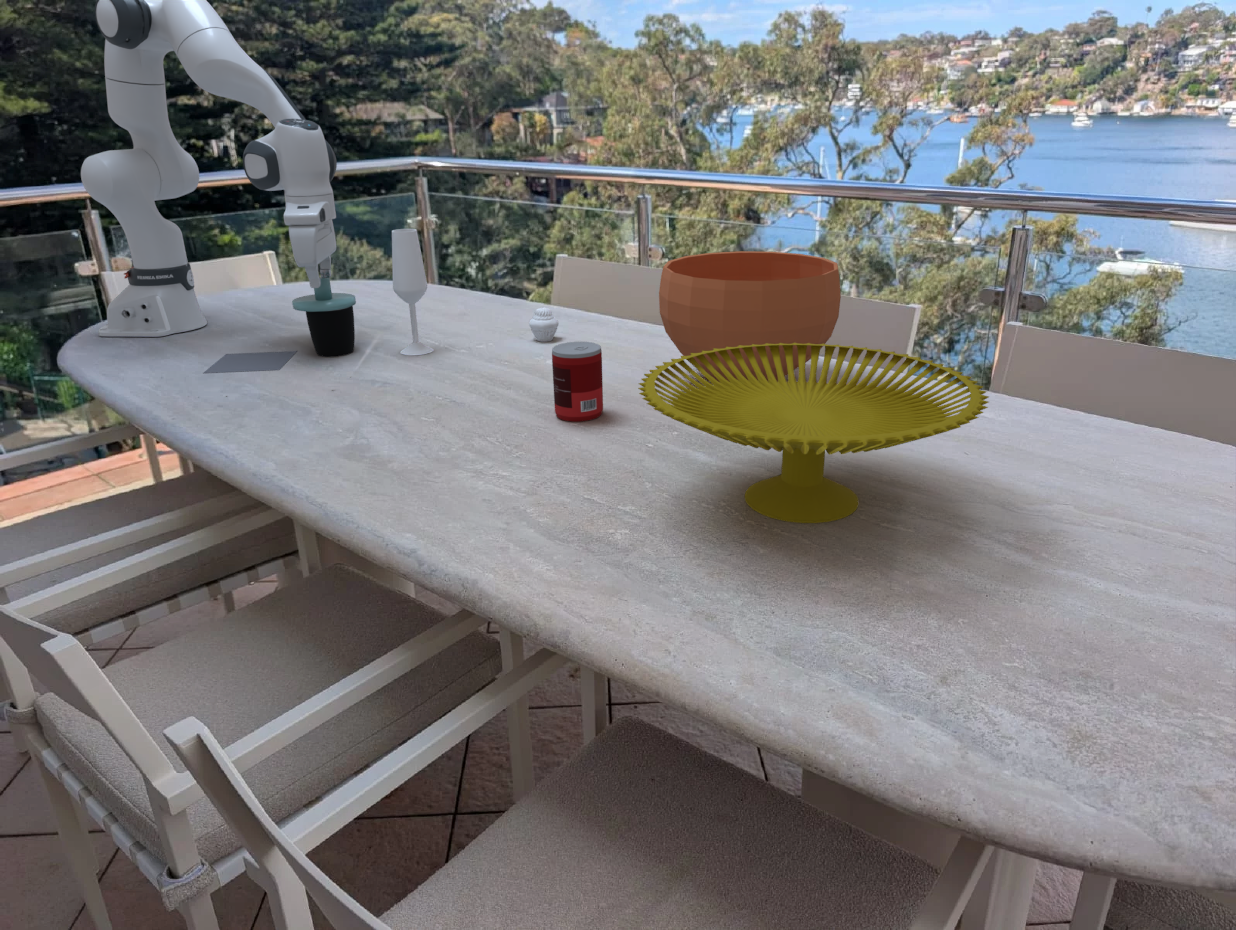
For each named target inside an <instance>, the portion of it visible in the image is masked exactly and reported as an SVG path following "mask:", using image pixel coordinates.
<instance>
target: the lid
mask: <svg viewBox="0 0 1236 930" xmlns="http://www.w3.org/2000/svg"><path fill="white" fill-rule="evenodd" d="M319 277H320V280H321V286H320V287H319V288H313V292H314V294H309V295H307V294H306V295H304V296H303V295H302V296H299V297H296V298H294V299H292V301H291V304H292V309H294V310H295V311H299V312H306V311H308V312H317V311H331V310H338V309H343V308H347V307H351V306H355V305H356V304H357V301H356V296H355V295H354V294H350V293H344V292H332V287H331V286H332V285H331V279H330V278H331V277H330V278H328V277H321V276H319Z"/></svg>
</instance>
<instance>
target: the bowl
mask: <svg viewBox="0 0 1236 930" xmlns="http://www.w3.org/2000/svg"><path fill="white" fill-rule="evenodd" d="M658 289H659V291H658V301H659V304H658V305H659V315H660V317H661V320H662V325H663V329H664V331H665V333H666V334H667V336H668V337H669V339H670V340H671V342H672V344H674V346H675V347H676V348H677V350H678V351H679V353H680V354H681V356H689V355H691V353H701V352H702V351H712V350H713V348H716V349H722V348H726V347H738V346H739V345H741V346H750V345H752V344H755V345H763V344H766V343H768V344H779V343H783V344H792V343H799V344H807V343H810V344H823V343H824V344H827V342H828V341H829V340H830V338H832V335H833V332H834V329H835V327H836V325H837V321H838V319H839V315H840V308H841V298H842V297H841V296H842V295H841V283H840V272H839V267H838V263H837V262H835V261H833V260H830V259H827V258H826V257H820V256H815V255H809V254H804V253H792V252H780V251H757V250H756V251H754V250H753V251H752V250H751V251H748V250H747V251H746V250H745V251H744V250H743V251H740V250H738V251H722V252H721V251H719V252H708V253H699V254H690V255H684V256H681V257H677V258H675V259H671V260H668V261H667V262H666V263H665V264H664V265H663V268H662V272H661V274H660V283H659V288H658ZM823 347H824V346H821V349H822V348H823ZM765 348H766V353H767V357H768V361H769V364H770V367H771V370H772V372H773V374H774V376H775V378H776V380H777V382H778V376H777V371H776V367H775V363H774V359H773V356H772V353H771V350H770V348H769V346H765ZM739 350H740V353H741V355H742V357H743V359H744V361H745V363H746V365H747V367H748V368H749V370H750V372H751V373H752V375H753V376H754V377H755V378H756V379H757V380H758V378H757V376H756V373H755V371H754V369H753V367H752V365H751V363H750V361H749V359H748V357H747V355H746V353H745V352H744V350H743V349H742V348H739ZM752 350H753V353H754V356H755V359H756V361H757V364H758V366H759V368H760V370H761V372H762V374H763V375H764V377H765V378H766V380H767V381H768V377H767V374H766V371H765V368H764V365H763V362H762V360H761V358H760V355H759V353H758V351H757V349H756V347H755V346H754V347H752ZM727 352H728V354H729V356H730V358H731V360H732V361H733V363H734V365H735V366H736V367H737V369H738V370H739V372H740V373H741V374H742V376H744V377H745V378H746V379H747V380H748V378H747V376H746V374H745V372H744V371H743V369H742V367H741V366H740V364H739V362H738V361H737V359H736V358H735V356H734V355H733V353H732V352H731V351H730V350H729V349H727ZM779 353H780V360H781V365H782V369H783V373H784V376H785V377H786V376H788V370H787V362H786V357H785V352H784V348H783V346H782V345H779ZM715 354H716V355H717V357H718V358H719V360H720V361H721V363H722V364H723V366H724V367H725V368H726V369H727V370H728V371H729V373H730V374H731V375H732V376H733V377H734V378H735V379H737V377H736V375H735V374H734V373H733V371H732V370H731V368H730V367H729V365H728V364H727V363H726V361H725V360H724V359H723V357H722V356H721V355H720V354H719V353H718V352H717V351H716V352H715ZM704 356H705V358H706V359H707V360H708V361H709V363H710V364H711V365H712V366H713V368H714V369H715V370H716V371H717V372H718V373H719V374H720V375H721V376H723V377H724V378H725V379H726V380H727V381H729V380H728V378H727V377H726V376H725V375H724V373H723V372H722V371H721V370H720V368H719V367H718V366H717V365H716V364H715V363H714V361H713V360H712V359H711V358H710V357H709V356H708V355H707V354H706V353H705V354H704ZM693 358H694V359H695V360H696V362H697V363H698V364H699V365H700V366H701V367H702V368H703V369H704V370H705V371H706V372H707V373H708V374H709V375H711V376H712V377H713V378H714V379H715V380H717V381H718V382H720V381H719V380H718V379H717V378H716V377H715V376H714V375H713V373H712V372H711V371H710V370H709V369H708V368H707V367H706V366H705V365H704V364H703V363H702V362H701V361H700V360H699V359H698V358H697V357H696V356H694V357H693ZM809 361H811V345H807V349H806V359H805V364H806V363H808V362H809ZM793 366H794V371H795V370H797V369H799V360H798V350H797V346H796V345H793ZM737 380H738V379H737ZM738 381H739V380H738ZM748 381H749V380H748ZM729 382H730V381H729ZM758 382H759V381H758ZM720 383H721V382H720ZM730 383H731V382H730Z"/></svg>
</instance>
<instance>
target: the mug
mask: <svg viewBox="0 0 1236 930" xmlns="http://www.w3.org/2000/svg"><path fill="white" fill-rule="evenodd" d="M353 306H354V305H353ZM353 306H351V307H347V308H343V309H338V310H331V311H317V312H308V311H305V315H306V321H307V325H308V330H309V333H310V339H311V341H312V344H313V347H314V349H315V353H316V354H317V355H318V356H319V357H325V358H332V357H333V358H334V357H335V358H337V357H342V356H347V355H349V354H352V353H354V350H355V336H356V335H355V313H354V307H353Z"/></svg>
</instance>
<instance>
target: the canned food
mask: <svg viewBox="0 0 1236 930" xmlns="http://www.w3.org/2000/svg"><path fill="white" fill-rule="evenodd" d="M602 352H603V351H602V345H600V344H598V343H595V342H590V341H569V342H568V341H567V342H563V343H559V344H556V345H555V346H553V347H552V348H551V359H552V360H551V364H552V365H551V366H552V378H553V379H552V384H553V398H554V399H553V401H554V404H553V405H554V413H555V414H556V417H557V418H558V419H559V420H562V421H565V422H571V423H572V422H574V423H575V422H576V423H579V422H581V423H582V422H588V421H592V420H595V419H598V418H599V417H600V416H601V415H602V414H603V411H604V392H603V390H604V389H603V387H604V386H603V355H602V354H603V353H602Z"/></svg>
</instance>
